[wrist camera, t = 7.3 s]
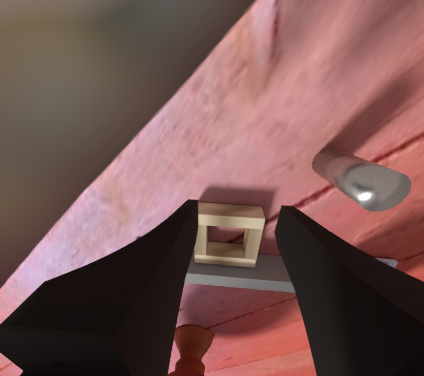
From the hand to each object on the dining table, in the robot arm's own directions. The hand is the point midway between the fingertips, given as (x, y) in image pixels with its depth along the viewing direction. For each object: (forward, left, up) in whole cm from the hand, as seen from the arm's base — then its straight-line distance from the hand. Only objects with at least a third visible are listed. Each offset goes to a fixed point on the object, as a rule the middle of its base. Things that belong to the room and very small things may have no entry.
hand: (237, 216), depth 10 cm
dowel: (-10, -1, -9) cm, 14 cm away
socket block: (0, +9, -9) cm, 13 cm away
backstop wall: (0, +14, -9) cm, 17 cm away
